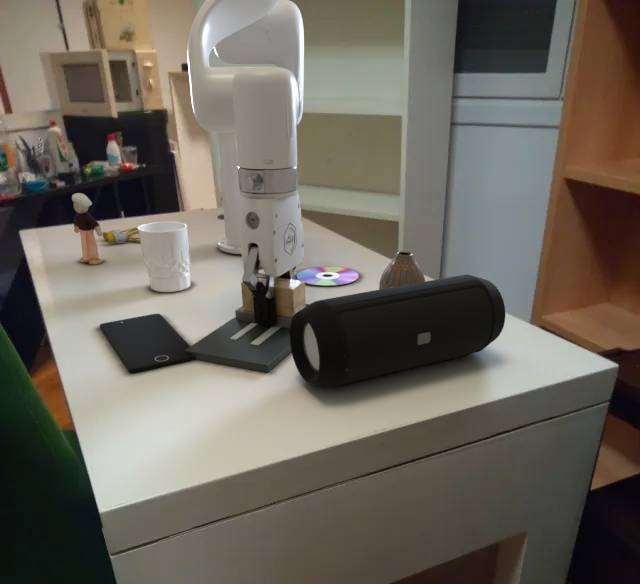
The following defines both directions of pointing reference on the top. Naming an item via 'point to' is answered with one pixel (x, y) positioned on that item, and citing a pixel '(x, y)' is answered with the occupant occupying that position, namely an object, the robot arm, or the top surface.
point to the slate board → (244, 345)
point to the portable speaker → (394, 329)
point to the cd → (317, 278)
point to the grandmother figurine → (86, 229)
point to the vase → (401, 271)
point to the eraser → (287, 301)
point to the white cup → (166, 255)
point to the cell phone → (146, 343)
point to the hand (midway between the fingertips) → (275, 315)
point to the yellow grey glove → (120, 236)
